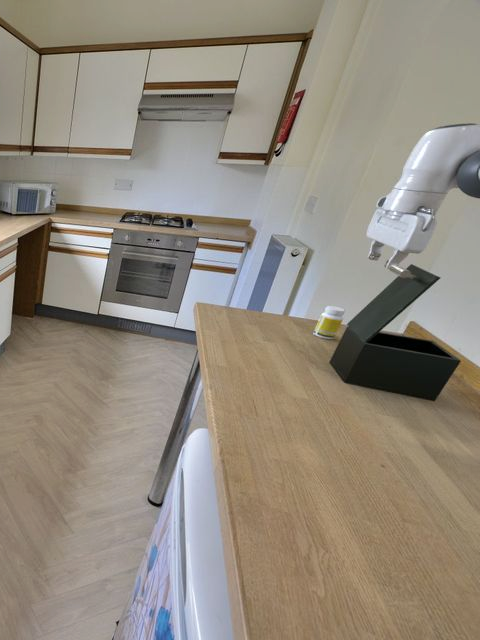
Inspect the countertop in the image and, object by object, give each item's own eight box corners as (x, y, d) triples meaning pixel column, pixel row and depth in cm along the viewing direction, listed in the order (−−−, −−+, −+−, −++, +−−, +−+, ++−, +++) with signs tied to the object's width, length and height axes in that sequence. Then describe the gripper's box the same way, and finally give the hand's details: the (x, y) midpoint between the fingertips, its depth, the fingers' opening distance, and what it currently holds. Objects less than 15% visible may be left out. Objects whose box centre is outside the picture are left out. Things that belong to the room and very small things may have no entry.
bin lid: (414, 265, 87) (392, 255, 88) (441, 277, 79) (417, 266, 79) (348, 325, 96) (330, 316, 97) (366, 342, 87) (346, 332, 88)
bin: (410, 378, 95) (433, 340, 91) (434, 401, 86) (461, 360, 82) (328, 362, 101) (347, 326, 96) (344, 382, 92) (364, 343, 88)
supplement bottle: (337, 340, 114) (351, 312, 110) (321, 339, 113) (334, 311, 110) (324, 332, 118) (337, 305, 114) (308, 332, 118) (320, 304, 114)
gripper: (457, 211, 83) (419, 277, 89) (407, 201, 100) (378, 257, 106) (418, 207, 85) (383, 272, 91) (375, 198, 102) (348, 253, 108)
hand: (380, 263), depth 99 cm, fingers open, 8 cm apart
